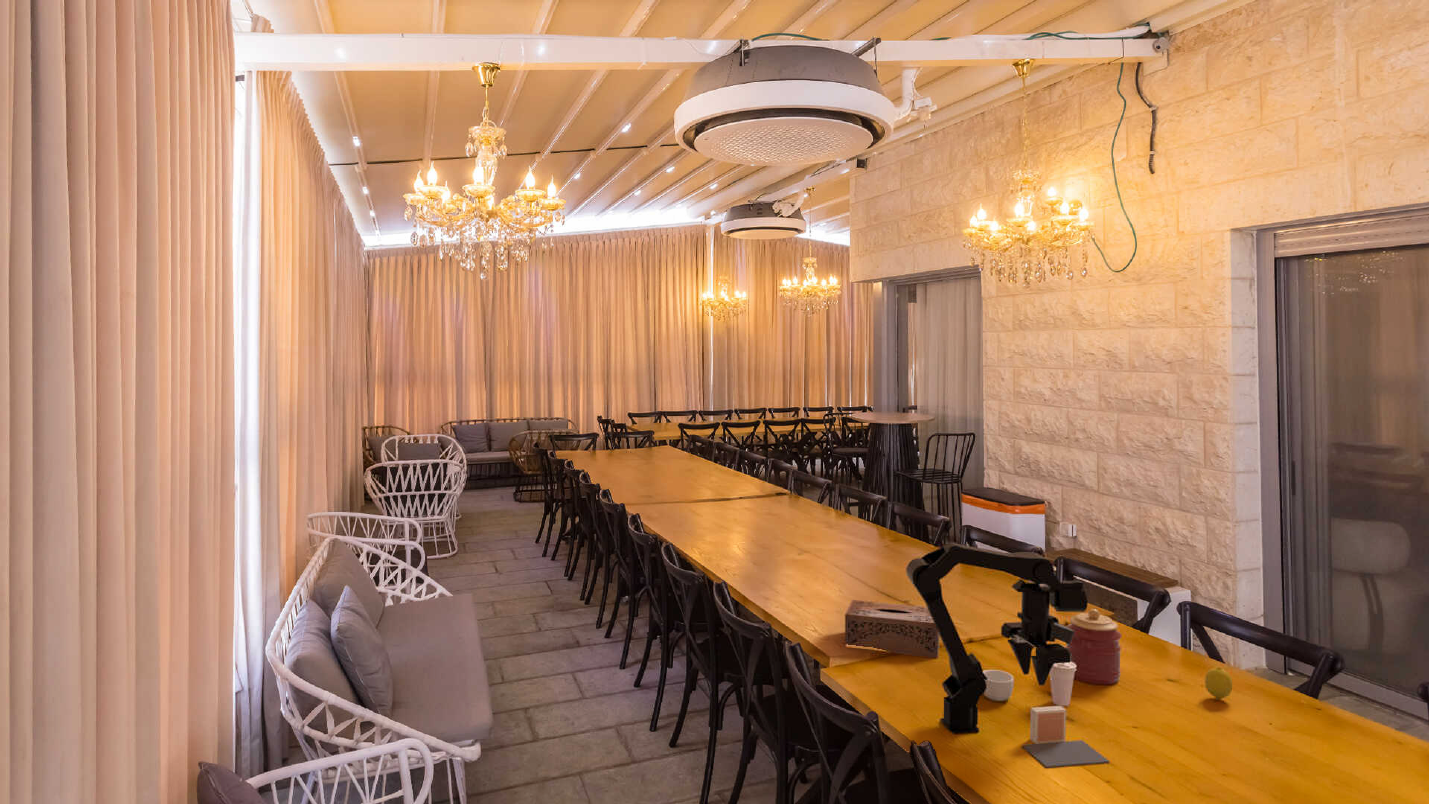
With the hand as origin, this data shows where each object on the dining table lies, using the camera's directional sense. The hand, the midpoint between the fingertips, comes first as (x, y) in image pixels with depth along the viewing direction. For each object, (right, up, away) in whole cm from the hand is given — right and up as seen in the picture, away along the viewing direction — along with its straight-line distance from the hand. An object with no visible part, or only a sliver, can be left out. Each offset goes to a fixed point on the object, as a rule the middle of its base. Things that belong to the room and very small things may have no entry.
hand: (1033, 679), depth 173 cm
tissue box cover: (-19, -9, +53) cm, 57 cm away
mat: (+2, -12, -11) cm, 16 cm away
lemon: (+51, -11, +15) cm, 55 cm away
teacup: (-2, -11, +17) cm, 20 cm away
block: (+1, -11, -5) cm, 12 cm away
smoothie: (+12, -11, +13) cm, 21 cm away
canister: (+28, -10, +30) cm, 42 cm away
